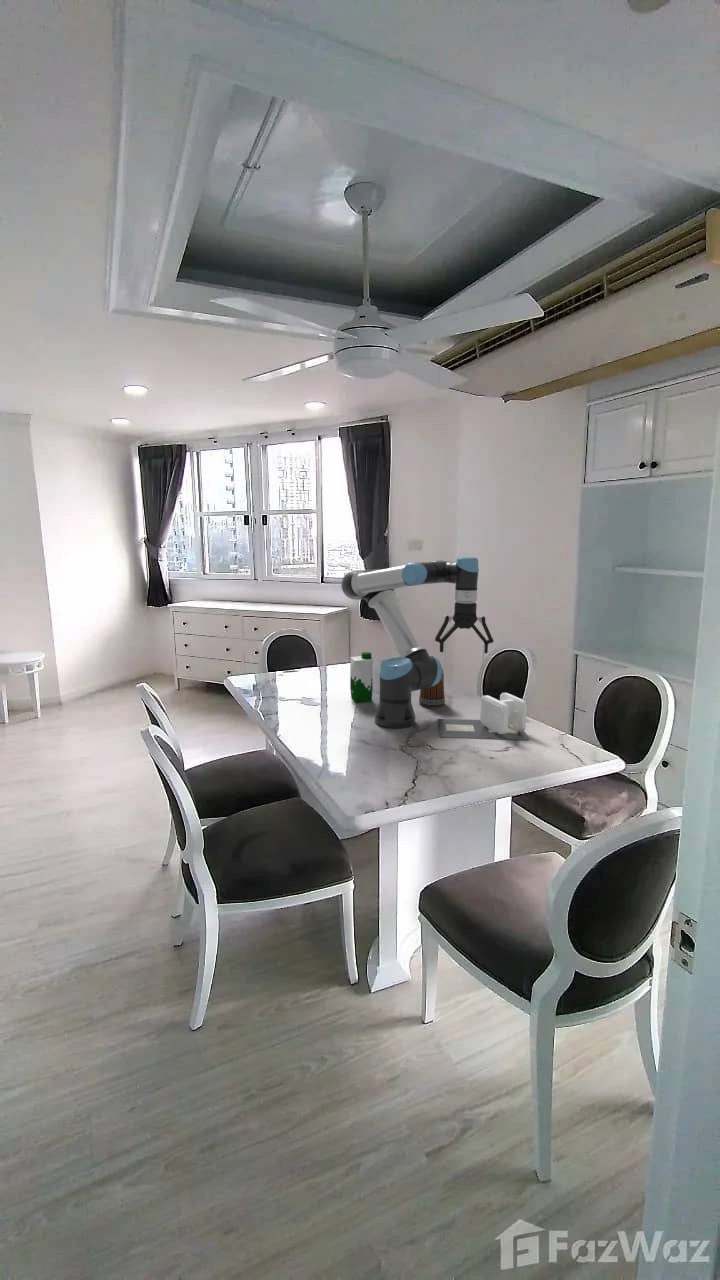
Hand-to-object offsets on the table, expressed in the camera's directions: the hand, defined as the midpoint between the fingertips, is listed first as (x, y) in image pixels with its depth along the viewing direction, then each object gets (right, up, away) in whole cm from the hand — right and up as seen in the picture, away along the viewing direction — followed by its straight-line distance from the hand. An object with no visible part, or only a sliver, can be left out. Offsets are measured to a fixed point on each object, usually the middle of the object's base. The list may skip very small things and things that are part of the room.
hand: (462, 661), depth 214 cm
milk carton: (-36, -18, +39) cm, 56 cm away
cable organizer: (+15, -24, +3) cm, 29 cm away
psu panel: (+7, -24, +3) cm, 26 cm away
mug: (-7, -18, +36) cm, 41 cm away
